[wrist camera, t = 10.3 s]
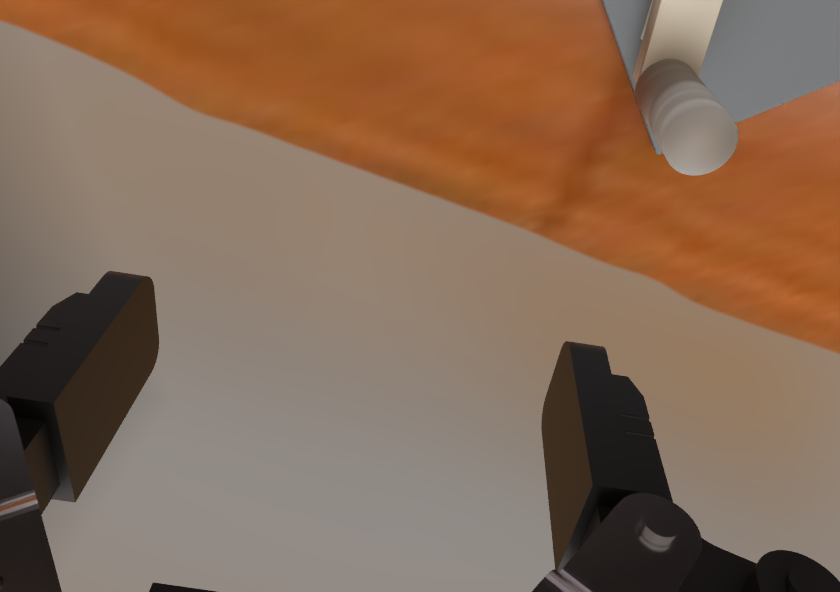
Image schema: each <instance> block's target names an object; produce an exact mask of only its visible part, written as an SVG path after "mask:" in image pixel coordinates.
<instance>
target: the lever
mask: <svg viewBox="0 0 840 592" xmlns="http://www.w3.org/2000/svg"><path fill="white" fill-rule="evenodd" d="M722 2H723V0H653V3H652V7H651V10H650V14H649V18H648V22H647V25H646V29H645V33H644V36H643V40H642V44H641V47H640V51H639V55H638V58H637V62H636V66H635V69H634V73H633V78H634V80H635V82H636V83H637V84H636V87H635V99H636V102H637V105H638V107H639V108H640V110H641V112H642V114H643V116H644V118H645V120H646V122H647V123H648V125H649V127H650V129H651V131H652V133H653V135H654V137H655V139H656V140H657V142H658V144H659V146H660V148H661V150H662V152H663V154H664V155H665V157H666V159H667V161H668V163H669V164H670V165H671V166H672V167H673V168H674V169H675V170H676V171H678V172H680V173H683V174H686V175H703V174H707V173H710V172H712V171H714V170H716V169H718V168H719V167H721V166H722V165H723V164H725V163H726V162H727V161H728V160H729V158H730V157H731V156H732V154H733V153H734V151H735V148H736V146H737V143H738V129H737V126H736V124H735V122H734V120H733V119H732V117H731V116H730V115H729V114H728V113H727V111H726V110H725V109H724V108H723V106H722V105H721V104H720V103H719V102H718V100H717V99H716V98H715V97H714V95H713V94H712V93H711V92H710V90H709V89H708V88H707V87H706V86H705V84H704V83H703V82H702V81H701V79H700V78H699V77H698V76H699V72H700V69H701V66H702V63H703V60H704V57H705V54H706V51H707V48H708V45H709V42H710V39H711V35H712V32H713V29H714V26H715V23H716V20H717V17H718V14H719V11H720V8H721V5H722Z"/></svg>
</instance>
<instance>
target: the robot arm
mask: <svg viewBox="0 0 840 592" xmlns="http://www.w3.org/2000/svg"><path fill="white" fill-rule="evenodd" d="M158 349H159V334H158V324H157V314H156V303H155V293H154V285H153V281H152V279H151V278H150V277H147V276H140V275H133V274H127V273H120V272H113V271H109V272H107V273H106V274H105V275H104V276H103V277H102V278H101V279H100V281H99V282H98V283H97V284H96V286H95V287H94V288H93V289H92V291H91V292H90V293H89V294H84V293H75V294H73V295H71V296H70V297H68V298H66V299H65V300H63V301H61V302H59V303H58V304H56V305H54V306H52V307H51V308H50V310H49V311H48V312H47V313H46V314H45V316H44V317H43V318H42V319H41V320H40V321H39V322H38V324H37V327H36V328H33V329H32V331H31V332H30V333H29V334H28V335H27V336H26V337H25V339H24V343H20V344H19V346H18V347H17V348H16V349H15V350H14V351H13V352H12V354H11V355H10V356H9V357H8V358H7V360H6V361H5V362H4V363H3V364H2V365H1V366H0V592H62V591H61V587H60V583H59V579H58V576H57V572H56V568H55V565H54V561H53V557H52V553H51V549H50V546H49V542H48V538H47V535H46V531H45V527H44V523H43V520H42V516H41V515H42V513H43V511H44V510H45V508H46V507H47V505H48V503H49V502H50V500H51V499H55V500H63V501H69V502H76V500H77V499H78V497H79V495H80V494H81V492H82V490H83V488H84V487H85V485H86V483H87V481H88V480H89V478H90V476H91V475H92V473H93V471H94V470H95V468H96V466H97V465H98V463H99V461H100V459H101V458H102V456H103V454H104V453H105V451H106V449H107V447H108V446H109V444H110V442H111V441H112V439H113V437H114V435H115V434H116V432H117V430H118V429H119V427H120V425H121V423H122V421H123V420H124V418H125V417H126V415H127V413H128V411H129V409H130V408H131V406H132V405H133V403H134V401H135V399H136V398H137V396H138V394H139V393H140V391H141V389H142V387H143V386H144V384H145V382H146V381H147V379H148V377H149V376H150V374H151V372H152V370H153V368H154V366H155V363H156V359H157V355H158ZM542 439H543V448H544V459H545V469H546V478H547V489H548V499H549V510H550V520H551V530H552V540H553V550H554V561H555V570H552V571H551V572H549V573H548V574H547V575H546V576H545V577H544V578H543V579H542V581H541V582H540V583H539V584H538V585H537V586H536V588H535V589H534V590H533V591H532V592H840V582H839V581H838V579H837V578H836V577H835V576H834V575H833V574H832V573H830V571H828V570H827V569H826V568H825V567H823V566H822V565H820V564H819V563H817V562H816V561H814V560H812V559H810V558H808V557H807V556H804V555H802V554H799V553H795V552H792V551H785V550H776V551H771V552H769V553H767V554H765V555H764V556H763V557H761V559H760V560H759V562H758V563H757V564H756V563H754V562H751V561H749V560H747V559H744V558H742V557H740V556H737V555H735V554H733V553H730V552H728V551H725V550H723V549H720V548H718V547H716V546H714V545H712V544H710V543H709V542H707V541H706V540H704V539H703V538H701V535H700V531H699V529H698V527H697V525H696V524H695V522H694V521H693V519H692V518H691V517H690V516H689V515H688V514H687V513H686V512H685V511H684V510H683V509H682V508H680V507H679V506H678V505H676V504H675V503H673V501H672V497H671V493H670V490H669V487H668V483H667V479H666V476H665V473H664V468H663V465H662V461H661V458H660V454H659V450H658V447H657V443H656V440H655V439H654V432H653V429H652V425H651V422H649V414H648V411H647V407H646V403H645V400H644V397H643V395H642V394H641V393H640V392H639V391H638V389H637V388H636V386H635V385H634V384H633V383H632V381H631V380H630V379H629V378H628V377H626V376H619V375H613V374H611V370H610V365H609V361H608V357H607V353H606V350H605V348H604V347H600V346H595V345H588V344H581V343H575V342H568V341H566V342H565V343H564V344H563V346H562V348H561V351H560V354H559V357H558V360H557V364H556V367H555V370H554V373H553V376H552V379H551V382H550V385H549V389H548V392H547V395H546V398H545V402H544V406H543V413H542ZM149 592H215V591H208V590H201V589H194V588H187V587H180V586H173V585H166V584H159V583H153V584H152V586H151V588H150V591H149Z"/></svg>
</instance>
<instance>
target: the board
mask: <svg viewBox="0 0 840 592" xmlns="http://www.w3.org/2000/svg"><path fill="white" fill-rule="evenodd" d="M601 1H602V4H603V7H604V10H605V13H606V15H607V18H608V21H609V24H610V27H611V30H612V32H613V35H614V38H615V41H616V44H617V47H618V49H619V52H620V55H621V58H622V61H623V64H624V66H625V69H626V72H627V75H628V78H629V81H630V83H631V86H632V89H633V92H634V95H635V87H636V84H637V83H636V82H635V80H634V78H633V73H634V69H635V66H636V62H637V58H638V55H639V51H640V47H641V44H642V40H643V36H644V33H645V29H646V25H647V22H648V18H649V14H650V10H651V7H652V3H653V0H601ZM698 77H699V78H700V79H701V81H702V82H703V83H704V84H705V86H706V87H707V88H708V89H709V90H710V92H711V93H712V94H713V95H714V97H715V98H716V99H717V100H718V102H719V103H720V104H721V105H722V106H723V108H724V109H725V110H726V111H727V113H728V114H729V115H730V116H731V117H732V119H733V120H734V122H735V123H737V122H740V121H742V120H745V119H747V118H749V117H752V116H754V115H757V114H759V113H762V112H764V111H767V110H769V109H772V108H774V107H776V106H779V105H781V104H784V103H786V102H789V101H791V100H794V99H796V98H799V97H801V96H803V95H806V94H808V93H811V92H813V91H816V90H818V89H821V88H823V87H825V86H828V85H830V84H833V83H835V82H838V81H840V0H723V2H722V5H721V8H720V11H719V14H718V17H717V20H716V23H715V26H714V29H713V32H712V35H711V39H710V42H709V45H708V48H707V51H706V54H705V57H704V60H703V63H702V66H701V69H700V72H699V76H698ZM639 109H640V108H639ZM640 112H641V110H640ZM641 115H642V117H643V120H644V123H645V126H646V129H647V132H648V134H649V137H650V140H651V143H652V146H653V147H654V149H655V151H656V153H657V155H659V154H661V153H663V152H662V150H661V148H660V146H659V144H658V142H657V140H656V139H655V137H654V135H653V133H652V131H651V129H650V127H649V125H648V123H647V122H646V120H645V118H644V116H643V114H642V112H641Z"/></svg>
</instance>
